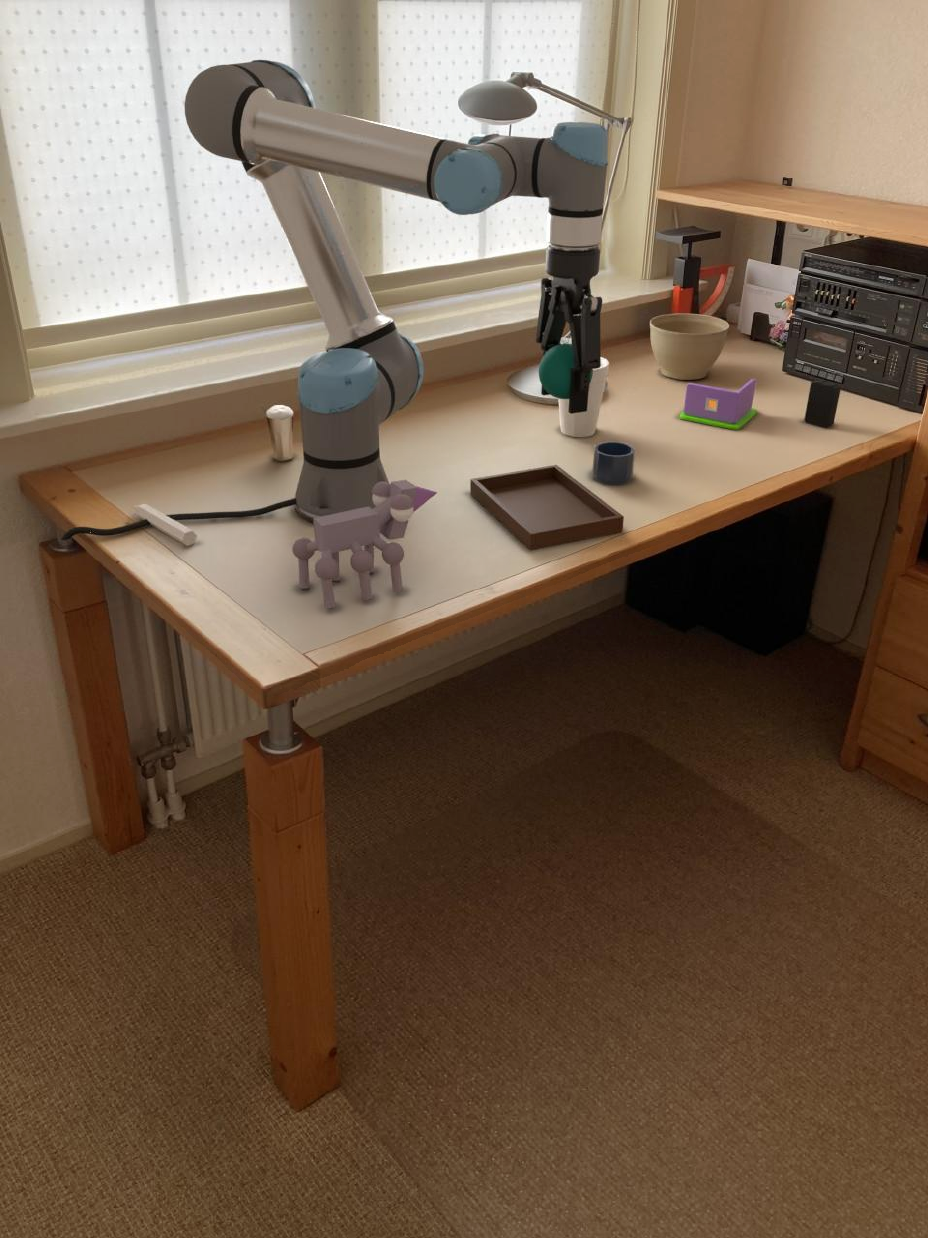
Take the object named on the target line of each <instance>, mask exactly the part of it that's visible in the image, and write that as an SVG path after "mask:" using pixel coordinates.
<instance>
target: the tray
mask: <svg viewBox="0 0 928 1238" xmlns="http://www.w3.org/2000/svg"><path fill="white" fill-rule="evenodd" d="M469 483H470V485H469V487H470V488H469V489H470V491H469V492H470V495H471V496H472V497H473V498H474V499H475V500H476V501H477V502H478V503H479V504H481V506H483V507H484V508H485V509H486V510H487V511H488V512H489V513H490V514H491V515H492V516H493V517H494V518H496V519H497V521H498V522H500V523H501V524H502V525H503V526H504V527H505V528H506V529H507V530H508V531H509V532H510V533H511V534H512V535H513V536H514V537H516V538H517V540H519V542H520V543H522V544H523V545H524V546H525V547H526V548H527V549H528V550H529V551H532V550H537V549H542V548H543V549H544V548H547V547H552V546H559V545H564V544H568V543H573V542H580V541H584V540H589V539H594V538H598V537H603V536H609V535H614V534H619V533H623V532H624V531H623V530H624V521H625V516H624V515H623V514H621V513H620V512H619V511H617V510H616V509H615V508H614V507H612V506H611V505H609V504H608V503H607V502H606V501H604V500H603V499H602V498H601V497H599V496H598V495H597V494H595V493H594V492H593V491H592V490H590V489H589V488H587V487H586V486H585V485H584V484H582V483H581V482H580V481H578V479H576V478H574V477H573V476H572V475H571V474H569V473H568V472H567V471H565V470H564V469H563V468H562V467H560V466H559V465H557V464H553V465H546V466H541V467H535V468H528V469H521V470H518V471H509V472H505V473H499V474H498V473H497V474H493V475H487V476H480V477H474V478H470V481H469Z"/></svg>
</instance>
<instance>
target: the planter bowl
mask: <svg viewBox="0 0 928 1238" xmlns="http://www.w3.org/2000/svg"><path fill="white" fill-rule="evenodd" d="M649 328H650V344H651V346H650V347H651V350H652V353H653V356H654V358H655V360H656V362H657V364H658V365H659V367H660V372H661V374H662V375H663V376H665V377H667V378H671V379H675V380H681V381H693V380H700V379H703V378H705V377H706V376H707V375H708V372H709V370H710V369H711V368H712V366H713V365H714V364H715V363H716V362H717V360H718V359H719V357H720V355H721V353H722V351H723V350H724V347H725V343H726V341H727V335H728V332H729V329H730V323H728V322H727V321H726V320H724V319H722V318H719V317H716V316H712V315H707V314H698V313H669V314H662V315H657V316H655V317H653V318H651V319H650V321H649Z"/></svg>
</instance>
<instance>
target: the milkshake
mask: <svg viewBox="0 0 928 1238" xmlns="http://www.w3.org/2000/svg"><path fill="white" fill-rule="evenodd" d="M260 406H261V408H262V410H263V411H264V413H265V416H266V421H267V425H268V430H269V435H270V442H271V446H272V454H273V458H274V460H276V461H278V462H287V461H290V460H292V459H293V458H294V454H293V453H294V452H293V451H294V449H293V448H294V445H293V442H294V439H293V437H294V436H293V435H294V432H293V431H294V411H293V409H292V408H290V407H289V406H286V405H284V404H274V405H273V406H271V407H269V408H268V409H267V410H265V409H264V407H263V405H262V404H260Z"/></svg>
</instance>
